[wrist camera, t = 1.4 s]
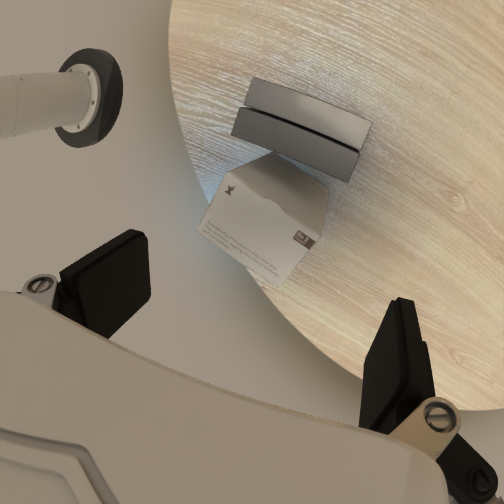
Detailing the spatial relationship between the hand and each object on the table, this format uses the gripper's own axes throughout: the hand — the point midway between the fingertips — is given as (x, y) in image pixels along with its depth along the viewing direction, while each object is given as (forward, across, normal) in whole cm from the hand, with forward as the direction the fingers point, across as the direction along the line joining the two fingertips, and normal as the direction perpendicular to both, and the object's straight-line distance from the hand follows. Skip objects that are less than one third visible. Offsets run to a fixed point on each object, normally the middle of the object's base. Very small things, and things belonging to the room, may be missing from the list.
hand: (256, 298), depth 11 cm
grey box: (+26, +2, -5) cm, 26 cm away
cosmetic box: (+26, +4, +3) cm, 26 cm away
